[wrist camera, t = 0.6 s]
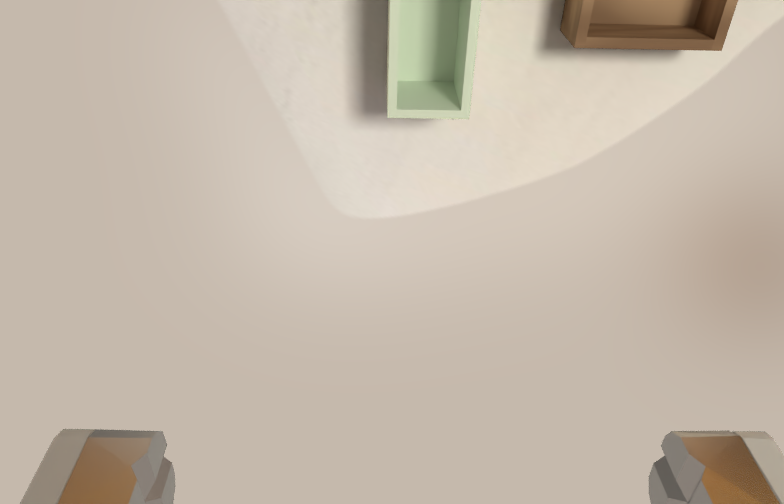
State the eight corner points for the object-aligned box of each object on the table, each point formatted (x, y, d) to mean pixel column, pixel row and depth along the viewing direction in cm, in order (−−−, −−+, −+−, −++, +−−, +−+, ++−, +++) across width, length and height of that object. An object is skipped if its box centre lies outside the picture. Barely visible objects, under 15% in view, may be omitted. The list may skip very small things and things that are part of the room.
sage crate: (389, -80, 41) (391, -64, 36) (474, -78, 41) (487, -62, 36) (386, 85, 47) (387, 117, 42) (459, 86, 47) (469, 119, 43)
